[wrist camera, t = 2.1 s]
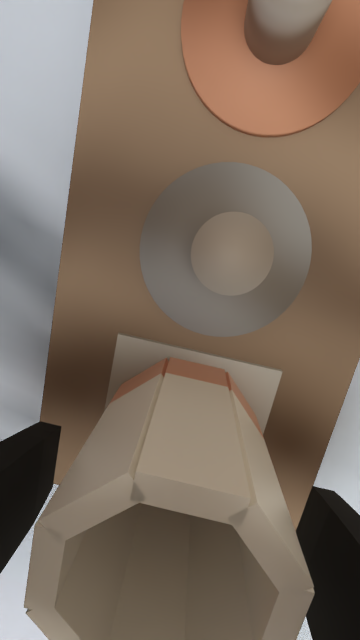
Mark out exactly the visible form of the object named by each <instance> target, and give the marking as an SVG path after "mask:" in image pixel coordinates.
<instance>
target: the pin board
mask: <svg viewBox="0 0 360 640" xmlns="http://www.w3.org/2000/svg"><path fill="white" fill-rule="evenodd" d="M170 357H173V358H177V359H182V360H186V361H190V362H195V363H199V364H203V365H208V366H212V367H216V368H221V369H225V373H226V372H228V373H229V374H230V376H231V377H232V379H233V380H234V382H235V384H236V385H237V387H238V388H239V390H240V391H241V393H242V394H243V396H244V398H245V399H246V401H247V402H248V404H249V405H250V407H251V408H252V410H253V412H254V413H255V415H256V417H257V420H258V423H259V426H260V429H261V432H262V435H263V438H264V440H265V443H266V446H267V449H268V452H269V455H270V458H271V461H272V464H273V467H274V470H275V473H276V476H277V479H278V482H279V485H280V488H281V491H282V494H283V496H284V499H285V502H286V505H287V508H288V511H289V514H290V517H291V520H292V523H293V526H294V529H295V532H296V529H297V527H298V524H299V521H300V518H301V516H302V513H303V510H304V507H305V505H306V502H307V499H308V497H309V494H310V491H311V488H312V486H313V484H314V481H315V479H316V476H317V473H318V470H319V468H320V465H321V462H322V459H323V457H324V454H325V451H326V449H327V446H328V443H329V440H330V438H331V435H332V432H333V429H334V427H335V424H336V421H337V418H338V416H339V413H340V410H341V407H342V405H343V402H344V399H345V397H346V394H347V391H348V388H349V386H350V383H351V380H352V377H353V375H354V372H355V369H356V366H357V364H358V361H359V358H360V0H94V1H93V9H92V17H91V25H90V33H89V40H88V48H87V56H86V64H85V72H84V79H83V87H82V95H81V103H80V111H79V118H78V126H77V134H76V142H75V150H74V157H73V165H72V173H71V181H70V189H69V196H68V204H67V212H66V220H65V228H64V235H63V243H62V251H61V259H60V267H59V274H58V282H57V290H56V298H55V306H54V313H53V321H52V329H51V337H50V345H49V352H48V360H47V368H46V376H45V384H44V391H43V399H42V407H41V415H40V422H41V421H42V422H46V423H50V424H54V425H58V426H61V433H60V440H59V447H58V454H57V461H56V468H55V475H54V481H53V484H57V485H60V483H61V482H62V480H63V478H64V477H65V475H66V474H67V472H68V470H69V469H70V467H71V465H72V464H73V462H74V460H75V459H76V457H77V456H78V454H79V452H80V451H81V449H82V447H83V446H84V444H85V443H86V441H87V439H88V438H89V436H90V434H91V433H92V431H93V429H94V428H95V426H96V425H97V423H98V421H99V420H100V418H101V416H102V415H103V413H104V411H105V410H106V408H107V407H108V405H109V403H110V402H111V400H112V398H113V397H114V395H115V394H116V392H117V390H118V389H119V387H120V386H121V384H123V383H124V382H126V381H128V380H129V379H131V378H133V377H135V376H136V375H138V374H140V373H141V372H143V371H145V370H146V369H148V368H150V367H151V366H153V365H155V364H156V363H158V362H160V361H161V360H163V359H165V358H167V359H168V361H169V359H170Z"/></svg>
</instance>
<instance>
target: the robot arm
mask: <svg viewBox="0 0 360 640" xmlns="http://www.w3.org/2000/svg"><path fill="white" fill-rule="evenodd" d="M60 433H61V426H58V425H54V424H50V423H46V422H42V421H41V422H38V423H36V424H34V425H32V426H30V427H28V428H26V429H24V430H22V431H20V432H18V433H16V434H14V435H13V436H11V437H9V438H7V439H5V440H3V441H1V442H0V573H1V572H2V570H3V569H4V567H5V566H6V564H7V563H8V561H9V560H10V558H11V557H12V555H13V554H14V552H15V551H16V549H17V548H18V546H19V545H20V543H21V542H22V540H23V539H24V537H25V536H26V534H27V533H28V531H29V530H30V528H31V527H32V525H33V523H34V522H35V520H36V518H37V516H38V514H39V512H40V510H41V509H42V507H43V505H44V503H45V501H46V499H47V497H48V495H49V493H50V491H51V489H52V487H53V481H54V475H55V468H56V461H57V454H58V447H59V440H60ZM296 535H297V538H298V541H299V544H300V547H301V550H302V553H303V555H304V558H305V561H306V564H307V567H308V570H309V573H310V576H311V579H312V582H313V585H314V587H313V589H314V592H315V594H314V597H313V599H312V601H311V604H310V606H309V609H308V611H307V614H306V618H307V622H308V625H309V629H310V632H311V636H312V639H313V640H360V515H359V514H358V513H357V512H356V511H355V510H354V509H353V508H352V507H351V506H350V505H349V504H347V503H346V502H345V501H344V500H343V499H342V498H341V497H340V496H339V495H338V494H337V493H336V492H334V491H331V490H327V489H322V488H318V487H314V486H312V488H311V491H310V494H309V497H308V499H307V502H306V505H305V507H304V510H303V513H302V516H301V518H300V521H299V524H298V527H297V529H296Z"/></svg>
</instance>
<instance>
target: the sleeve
mask: <svg viewBox="0 0 360 640" xmlns="http://www.w3.org/2000/svg"><path fill="white" fill-rule="evenodd" d="M313 587H314V585H313V582H312V579H311V576H310V573H309V570H308V567H307V564H306V561H305V558H304V555H303V553H302V550H301V547H300V544H299V541H298V538H297V535H296V532H295V529H294V526H293V523H292V520H291V517H290V514H289V511H288V508H287V505H286V502H285V499H284V496H283V494H282V491H281V488H280V485H279V482H278V479H277V476H276V473H275V470H274V467H273V464H272V461H271V458H270V455H269V452H268V449H267V446H266V443H265V440H264V438H263V435H262V432H261V429H260V426H259V423H258V420H257V417H256V415H255V413H254V412H253V410H252V408H251V407H250V405H249V404H248V402H247V401H246V399H245V398H244V396H243V394H242V393H241V391H240V390H239V388H238V387H237V385H236V384H235V382H234V380H233V379H232V377H231V376H230V374H229V373H228V372H226V373H225V369H221V368H216V367H212V366H208V365H203V364H199V363H195V362H190V361H186V360H182V359H177V358H173V357H170V359H169V361H168V359H167V358H165V359H163V360H161V361H160V362H158V363H156V364H155V365H153V366H151V367H150V368H148V369H146V370H145V371H143V372H141V373H140V374H138V375H136V376H135V377H133V378H131V379H129V380H128V381H126V382H124V383H123V384H121V386H120V387H119V389H118V390H117V392H116V394H115V395H114V397H113V398H112V400H111V402H110V403H109V405H108V407H107V408H106V410H105V411H104V413H103V415H102V416H101V418H100V420H99V421H98V423H97V425H96V426H95V428H94V429H93V431H92V433H91V434H90V436H89V438H88V439H87V441H86V443H85V444H84V446H83V447H82V449H81V451H80V452H79V454H78V456H77V457H76V459H75V460H74V462H73V464H72V465H71V467H70V469H69V470H68V472H67V474H66V475H65V477H64V478H63V480H62V482H61V483H60V485H59V487H58V488H57V490H56V491H55V493H54V495H53V496H52V498H51V500H50V501H49V503H48V505H47V506H46V508H45V509H44V511H43V513H42V514H41V516H40V518H39V519H38V521H37V523H36V524H35V528H34V535H33V542H32V550H31V557H30V564H29V572H28V579H27V587H26V594H25V601H24V608H28V609H27V611H26V614H27V615H28V616H29V617H30V619H31V620H32V621H33V622H34V623H35V624H36V625H37V627H38V628H39V629H40V630H41V631H42V632H43V633H44V635H45V636H46V637H47V638H48V639H49V640H296V639H297V636H298V634H299V631H300V629H301V626H302V624H303V621H304V619H305V616H306V614H307V611H308V609H309V606H310V604H311V601H312V599H313V597H314V594H315V592H314V589H313Z"/></svg>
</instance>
